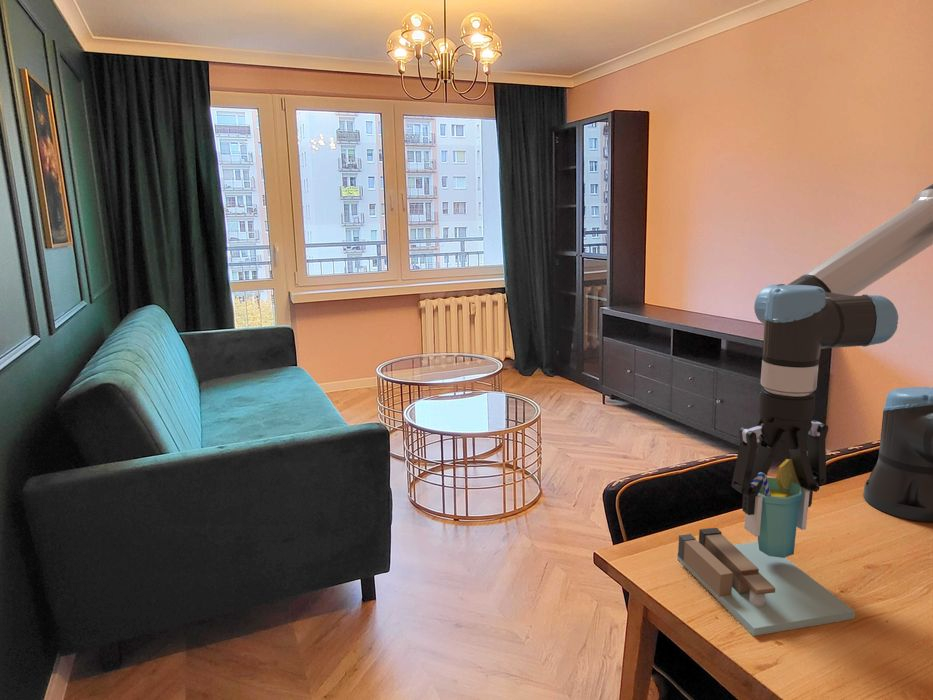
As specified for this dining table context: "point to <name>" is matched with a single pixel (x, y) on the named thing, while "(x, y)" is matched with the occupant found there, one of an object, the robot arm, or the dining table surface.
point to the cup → (779, 510)
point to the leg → (735, 562)
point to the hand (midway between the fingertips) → (775, 528)
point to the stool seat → (764, 613)
